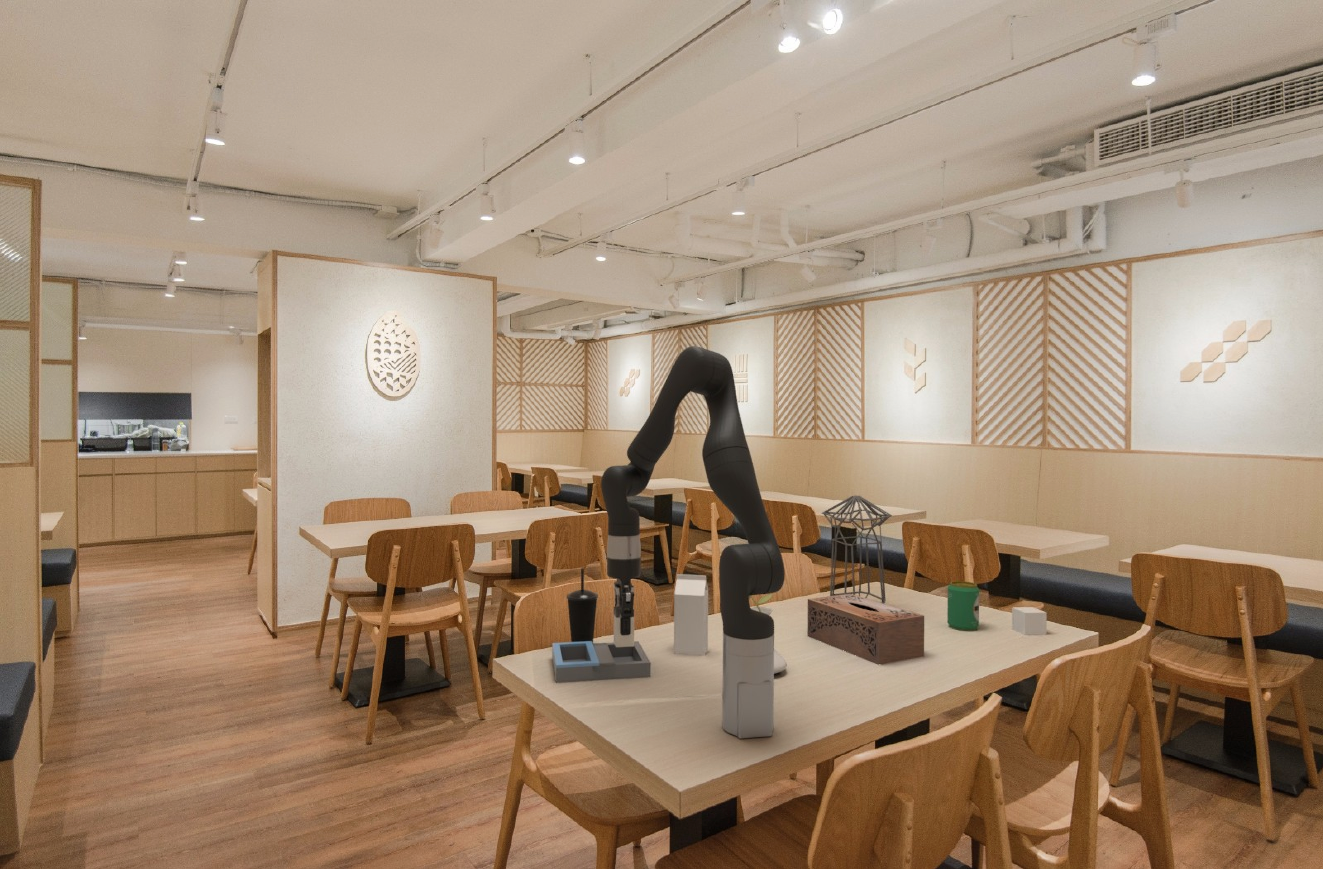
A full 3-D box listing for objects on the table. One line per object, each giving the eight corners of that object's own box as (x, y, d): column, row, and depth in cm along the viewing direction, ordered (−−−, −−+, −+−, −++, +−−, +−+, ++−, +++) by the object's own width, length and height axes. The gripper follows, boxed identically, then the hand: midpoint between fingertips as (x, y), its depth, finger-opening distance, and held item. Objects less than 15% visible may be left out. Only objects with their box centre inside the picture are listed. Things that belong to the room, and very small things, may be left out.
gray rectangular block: (634, 646, 161) (634, 609, 162) (616, 647, 161) (616, 610, 161) (631, 641, 165) (631, 605, 165) (613, 642, 165) (613, 606, 165)
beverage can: (976, 633, 195) (976, 588, 195) (944, 628, 200) (945, 584, 199) (980, 626, 202) (981, 582, 202) (950, 622, 206) (950, 579, 206)
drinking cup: (559, 653, 176) (560, 570, 176) (577, 644, 182) (578, 564, 182) (586, 658, 172) (586, 573, 172) (603, 649, 179) (604, 567, 179)
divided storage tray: (650, 681, 157) (650, 659, 156) (556, 687, 153) (556, 665, 153) (638, 658, 172) (638, 638, 172) (552, 662, 168) (552, 642, 168)
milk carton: (703, 659, 172) (704, 578, 171) (673, 657, 173) (674, 577, 173) (707, 650, 178) (708, 572, 178) (679, 648, 180) (679, 571, 180)
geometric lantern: (895, 619, 209) (895, 497, 208) (846, 624, 205) (845, 499, 204) (866, 605, 224) (865, 491, 223) (819, 609, 220) (818, 493, 219)
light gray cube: (1032, 628, 200) (1033, 607, 200) (1046, 635, 194) (1046, 612, 194) (1011, 629, 200) (1012, 607, 199) (1024, 635, 194) (1025, 612, 194)
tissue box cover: (924, 657, 175) (924, 615, 175) (878, 666, 168) (878, 622, 168) (850, 630, 198) (850, 593, 198) (807, 637, 191) (807, 599, 191)
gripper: (646, 559, 157) (646, 639, 157) (635, 549, 171) (635, 623, 171) (611, 560, 155) (611, 641, 155) (603, 550, 169) (603, 625, 169)
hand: (623, 631), depth 163 cm, fingers closed on gray rectangular block, 4 cm apart
